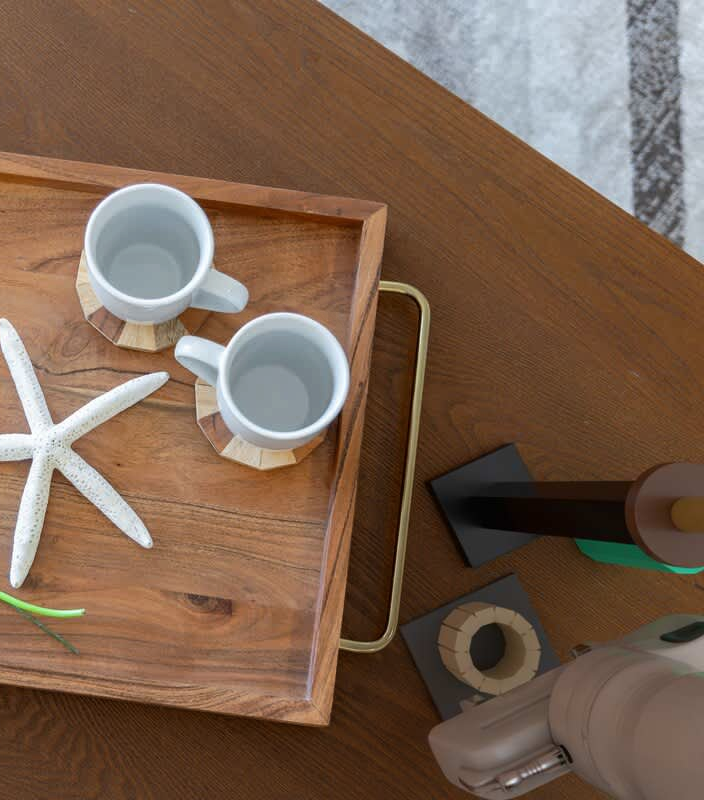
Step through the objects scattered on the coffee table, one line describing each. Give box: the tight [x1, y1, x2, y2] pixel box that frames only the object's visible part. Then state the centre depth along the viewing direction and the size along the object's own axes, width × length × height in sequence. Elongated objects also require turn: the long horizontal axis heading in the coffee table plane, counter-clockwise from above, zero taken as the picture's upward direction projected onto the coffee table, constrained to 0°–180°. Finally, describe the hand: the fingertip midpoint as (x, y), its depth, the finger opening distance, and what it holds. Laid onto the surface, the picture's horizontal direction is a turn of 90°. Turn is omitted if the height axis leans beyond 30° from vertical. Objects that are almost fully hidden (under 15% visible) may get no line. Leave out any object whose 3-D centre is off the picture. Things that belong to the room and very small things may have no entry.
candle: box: [573, 538, 704, 575], centre depth 69 cm, size 6×6×12 cm
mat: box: [397, 571, 562, 722], centre depth 74 cm, size 10×11×1 cm
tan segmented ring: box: [438, 601, 540, 695], centre depth 72 cm, size 7×7×4 cm
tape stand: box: [423, 442, 704, 570], centre depth 60 cm, size 8×8×31 cm
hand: (526, 681), depth 67 cm, fingers open, 8 cm apart
